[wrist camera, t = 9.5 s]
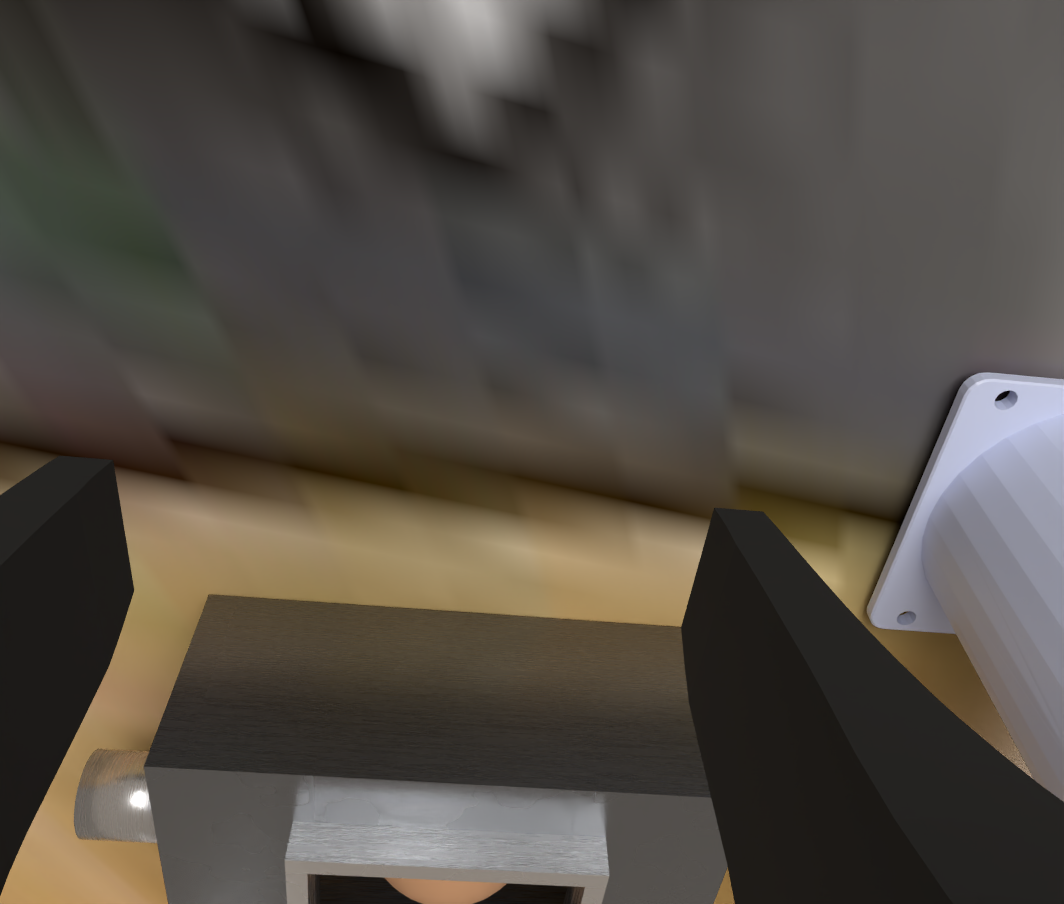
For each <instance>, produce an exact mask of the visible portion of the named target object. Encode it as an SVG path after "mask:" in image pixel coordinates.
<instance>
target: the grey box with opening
mask: <svg viewBox="0 0 1064 904" xmlns="http://www.w3.org/2000/svg"><path fill="white" fill-rule="evenodd" d="M74 826H75V832H76V835H77V837H78V838H79V839H82V840H103V841H123V842H144V843H157V844H158V849H159V855H160V860H161V866H162V872H163V877H164V883H165V888H166V894H167V899H168V904H422V903H419V902H416V901H414V900H412V899H410V898H408V897H407V896H405V895H403V894H402V893H400V892H399V891H398V890H396V889H395V888H394V887H393V886H392V885H391V884H390V883H389V882H388V881H387V880H386V879H385V878H405V879H427V880H448V881H469V882H491V883H507V884H506V885H505V886H504V887H502V888H501V889H500V890H499V891H497V892H496V893H494V894H493V895H491V896H490V897H488V898H486V899H484V900H482V901H479V902H476V903H473V904H713V903H714V901H715V898H716V895H717V893H718V890H719V888H720V885H721V883H722V880H723V878H724V875H725V872H726V870H727V867H728V866H727V861H726V857H725V853H724V849H723V845H722V841H721V836H720V832H719V828H718V824H717V820H716V816H715V811H714V807H713V803H712V799H711V795H710V791H709V787H708V782H707V778H706V774H705V770H704V766H703V762H702V757H701V753H700V749H699V745H698V740H697V736H696V732H695V727H694V723H693V719H692V714H691V710H690V705H689V700H688V691H687V683H686V674H685V665H684V654H683V643H682V632H681V627H669V626H655V625H640V624H626V623H611V622H597V621H582V620H568V619H553V618H539V617H524V616H510V615H495V614H481V613H467V612H452V611H438V610H423V609H409V608H394V607H380V606H365V605H351V604H336V603H322V602H307V601H293V600H278V599H264V598H249V597H235V596H221V595H209V596H208V599H207V601H206V604H205V606H204V609H203V612H202V614H201V617H200V620H199V622H198V625H197V627H196V630H195V633H194V635H193V638H192V641H191V643H190V646H189V648H188V651H187V654H186V656H185V659H184V662H183V664H182V667H181V670H180V672H179V675H178V677H177V680H176V683H175V685H174V688H173V691H172V693H171V696H170V698H169V701H168V704H167V706H166V709H165V712H164V714H163V717H162V719H161V722H160V725H159V727H158V730H157V733H156V735H155V738H154V740H153V743H152V746H151V748H150V751H134V750H116V749H97V750H95V751H94V752H93V753H92V755H91V756H90V758H89V759H88V761H87V763H86V765H85V768H84V770H83V773H82V776H81V779H80V782H79V786H78V790H77V795H76V801H75V809H74Z"/></svg>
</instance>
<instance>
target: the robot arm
mask: <svg viewBox="0 0 1064 904" xmlns="http://www.w3.org/2000/svg"><path fill="white" fill-rule="evenodd" d="M1004 391H1010V393H1009V394H1008V395H1007V397H1006V398H1004V399H1002V400H1000V401H995V399H996V397H997V396H998V395H999V394H1000V393H1002V392H1004ZM133 592H134V586H133V580H132V574H131V568H130V562H129V556H128V549H127V543H126V537H125V531H124V525H123V519H122V512H121V506H120V500H119V494H118V488H117V482H116V476H115V469H114V463H113V460H105V459H92V458H80V457H67V456H59V457H57V458H55V459H54V460H52V461H51V462H49V463H47V464H46V465H44V466H43V467H41V468H40V469H38V470H37V471H35V472H34V473H32V474H31V475H29V476H28V477H26V478H25V479H23V480H22V481H20V482H19V483H17V484H16V485H15V486H13V487H12V488H10V489H9V490H7V491H6V492H4V493H3V494H2V495H0V895H1V893H2V890H3V887H4V884H5V882H6V879H7V877H8V874H9V871H10V869H11V867H12V865H13V862H14V860H15V858H16V856H17V853H18V851H19V849H20V847H21V845H22V842H23V840H24V838H25V836H26V833H27V831H28V829H29V827H30V825H31V823H32V821H33V819H34V817H35V815H36V813H37V811H38V809H39V807H40V805H41V803H42V801H43V799H44V797H45V795H46V793H47V791H48V789H49V787H50V785H51V783H52V781H53V779H54V777H55V775H56V773H57V771H58V769H59V767H60V765H61V763H62V761H63V759H64V757H65V755H66V753H67V751H68V749H69V747H70V745H71V743H72V741H73V739H74V737H75V735H76V733H77V731H78V729H79V727H80V725H81V723H82V721H83V719H84V717H85V715H86V713H87V710H88V708H89V706H90V704H91V702H92V700H93V698H94V696H95V694H96V692H97V690H98V688H99V686H100V684H101V682H102V680H103V677H104V675H105V673H106V671H107V669H108V667H109V665H110V662H111V659H112V656H113V653H114V650H115V647H116V645H117V642H118V639H119V636H120V633H121V630H122V627H123V624H124V621H125V618H126V614H127V611H128V608H129V605H130V602H131V599H132V596H133ZM906 611H909V612H907V613H905V614H903V615H900V614H901V613H903V612H906ZM867 614H868V616H869V619H870V621H871V623H872V625H874V626H875V627H877V628H881V629H893V630H907V631H922V632H936V633H950V634H956V635H957V637H958V639H959V640H960V642H961V644H962V646H963V648H964V650H965V652H966V653H967V655H968V657H969V659H970V661H971V663H972V665H973V667H974V668H975V670H976V672H977V674H978V676H979V678H980V680H981V681H982V683H983V685H984V687H985V689H986V691H987V693H988V695H989V696H990V698H991V700H992V702H993V704H994V706H995V708H996V709H997V711H998V713H999V715H1000V717H1001V719H1002V721H1003V723H1004V724H1005V726H1006V728H1007V730H1008V732H1009V734H1010V736H1011V737H1012V739H1013V741H1014V743H1015V745H1016V747H1017V749H1018V751H1019V752H1020V754H1021V756H1022V758H1023V760H1024V762H1025V764H1026V765H1027V767H1028V769H1029V771H1030V773H1031V775H1032V777H1033V779H1032V778H1031V777H1030V776H1028V775H1027V774H1026V773H1025V772H1023V771H1022V770H1021V769H1019V768H1018V767H1017V766H1016V765H1014V764H1013V763H1012V762H1011V761H1009V760H1008V759H1007V758H1006V757H1004V756H1003V755H1002V754H1001V753H1000V752H998V751H997V750H996V749H995V748H994V747H992V746H991V745H990V744H989V743H988V742H987V741H985V740H984V739H983V738H982V737H981V736H979V735H978V734H977V733H976V732H975V731H974V730H972V729H971V728H970V727H969V726H968V725H966V724H965V723H964V722H963V721H962V720H961V719H959V718H958V717H957V716H956V715H955V714H954V713H953V712H951V711H950V710H949V709H948V708H947V707H946V706H945V705H944V704H943V703H941V702H940V701H939V700H938V699H937V698H936V697H935V696H934V695H933V694H932V693H931V692H930V691H929V690H928V689H926V688H925V687H924V686H923V685H922V684H921V683H920V682H919V681H918V680H917V679H916V678H915V677H914V676H913V675H912V674H911V673H910V672H909V671H908V670H907V669H906V668H905V667H904V666H903V665H902V664H901V663H900V662H899V661H898V660H897V659H896V658H895V657H894V656H893V655H892V654H891V653H890V652H889V651H888V650H887V649H886V648H885V647H884V646H883V645H882V644H881V643H880V642H879V641H878V640H877V639H876V638H875V637H874V636H873V635H872V634H871V633H870V632H869V631H868V629H867V628H866V627H865V626H864V625H863V624H862V623H861V622H860V621H859V620H858V619H857V618H856V617H855V616H854V614H853V613H852V612H851V611H850V610H849V609H848V608H847V607H846V606H845V605H844V604H843V602H842V601H841V600H840V599H839V598H838V597H837V596H836V595H835V593H834V592H833V591H832V590H831V589H830V588H829V587H828V586H827V584H826V583H825V582H824V581H823V580H822V579H821V578H820V576H819V575H818V574H817V573H816V572H815V571H814V570H813V568H812V567H811V566H810V565H809V564H808V563H807V562H806V560H805V559H804V558H803V557H802V556H801V555H800V553H799V552H798V551H797V550H796V549H795V548H794V546H793V545H792V544H791V543H790V542H789V541H788V539H787V538H786V537H785V536H784V535H783V534H782V533H781V531H780V530H779V529H778V528H777V527H776V526H775V525H774V523H773V522H772V521H771V520H770V519H769V518H768V517H767V516H766V515H765V513H764V512H760V511H747V510H735V509H722V508H714V511H713V515H712V519H711V522H710V526H709V529H708V533H707V537H706V540H705V544H704V547H703V551H702V555H701V558H700V562H699V565H698V569H697V573H696V576H695V580H694V583H693V587H692V591H691V594H690V598H689V601H688V605H687V609H686V612H685V616H684V620H683V623H682V627H681V632H682V643H683V654H684V665H685V674H686V683H687V691H688V700H689V705H690V710H691V714H692V719H693V723H694V727H695V732H696V736H697V740H698V745H699V749H700V753H701V757H702V762H703V766H704V770H705V774H706V778H707V782H708V787H709V791H710V795H711V799H712V803H713V807H714V811H715V816H716V820H717V824H718V828H719V832H720V836H721V841H722V845H723V849H724V853H725V857H726V861H727V866H728V870H729V875H730V880H731V886H732V891H733V896H734V901H735V904H1064V379H1054V378H1043V377H1032V376H1021V375H1011V374H1000V373H989V372H986V373H978V374H975V375H973V376H971V377H969V378H968V379H967V380H966V381H964V382H963V384H962V385H961V387H960V388H959V390H958V393H957V395H956V398H955V400H954V402H953V405H952V407H951V409H950V412H949V414H948V417H947V419H946V421H945V424H944V426H943V428H942V431H941V433H940V435H939V438H938V440H937V443H936V445H935V447H934V450H933V452H932V454H931V457H930V459H929V462H928V464H927V466H926V469H925V471H924V473H923V476H922V478H921V481H920V483H919V485H918V488H917V490H916V492H915V495H914V497H913V500H912V502H911V504H910V507H909V509H908V511H907V514H906V516H905V519H904V521H903V523H902V526H901V528H900V530H899V533H898V535H897V538H896V540H895V542H894V545H893V547H892V549H891V552H890V554H889V557H888V559H887V561H886V564H885V566H884V568H883V571H882V573H881V576H880V578H879V580H878V583H877V585H876V587H875V590H874V592H873V595H872V597H871V599H870V602H869V604H868V606H867Z"/></svg>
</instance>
